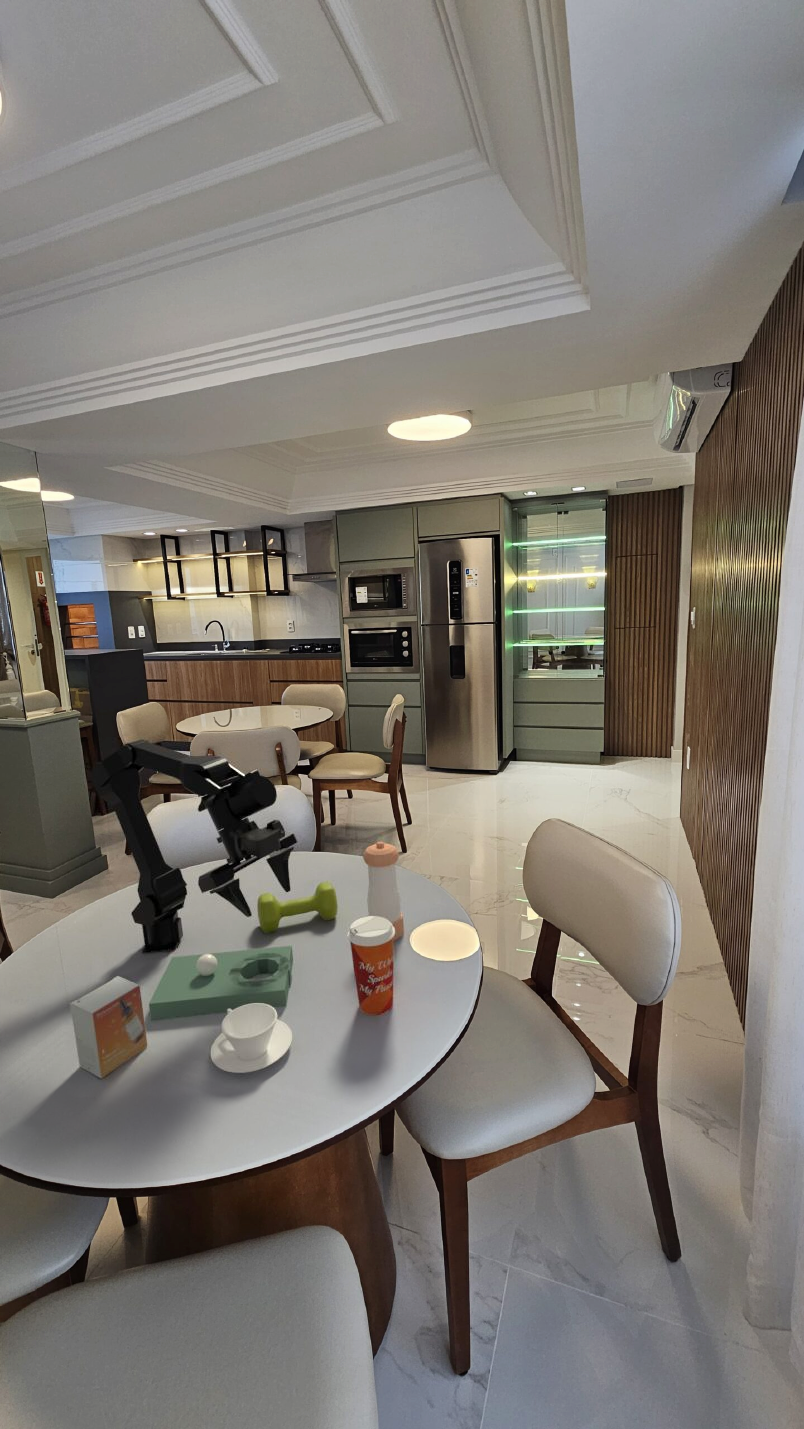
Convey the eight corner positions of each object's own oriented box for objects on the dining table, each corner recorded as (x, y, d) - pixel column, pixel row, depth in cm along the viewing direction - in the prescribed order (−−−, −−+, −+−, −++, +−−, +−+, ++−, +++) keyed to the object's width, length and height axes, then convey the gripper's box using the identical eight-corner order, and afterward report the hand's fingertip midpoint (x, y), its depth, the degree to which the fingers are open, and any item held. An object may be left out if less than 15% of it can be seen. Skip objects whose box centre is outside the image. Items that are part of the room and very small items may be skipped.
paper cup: (364, 1025, 99) (358, 943, 97) (345, 1000, 106) (339, 922, 103) (408, 1008, 103) (403, 929, 100) (387, 985, 109) (382, 910, 107)
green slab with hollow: (151, 1020, 103) (148, 1003, 103) (173, 972, 117) (172, 957, 117) (287, 1006, 105) (286, 989, 105) (294, 960, 119) (293, 945, 118)
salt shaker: (395, 944, 122) (389, 851, 119) (361, 939, 125) (355, 847, 122) (409, 926, 129) (404, 837, 126) (376, 921, 132) (371, 834, 128)
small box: (101, 1080, 90) (90, 1014, 89) (78, 1067, 93) (68, 1003, 92) (149, 1046, 97) (140, 984, 95) (126, 1035, 100) (118, 974, 98)
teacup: (251, 1017, 103) (248, 987, 102) (309, 1039, 97) (306, 1007, 96) (193, 1064, 93) (189, 1032, 92) (254, 1092, 87) (250, 1058, 86)
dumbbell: (261, 939, 127) (258, 906, 126) (257, 922, 135) (254, 890, 134) (341, 923, 132) (338, 891, 131) (333, 906, 140) (330, 876, 138)
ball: (195, 981, 108) (192, 962, 108) (199, 969, 112) (197, 951, 111) (216, 979, 109) (214, 960, 108) (220, 967, 112) (218, 949, 112)
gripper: (212, 834, 101) (253, 923, 100) (295, 794, 115) (332, 871, 114) (180, 849, 108) (218, 933, 107) (262, 809, 122) (297, 883, 122)
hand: (269, 903), depth 112 cm, fingers open, 9 cm apart
